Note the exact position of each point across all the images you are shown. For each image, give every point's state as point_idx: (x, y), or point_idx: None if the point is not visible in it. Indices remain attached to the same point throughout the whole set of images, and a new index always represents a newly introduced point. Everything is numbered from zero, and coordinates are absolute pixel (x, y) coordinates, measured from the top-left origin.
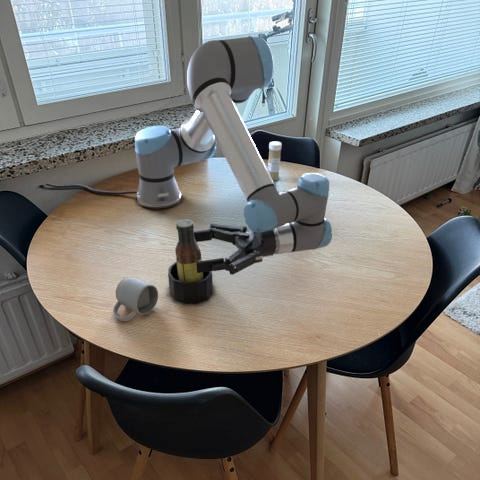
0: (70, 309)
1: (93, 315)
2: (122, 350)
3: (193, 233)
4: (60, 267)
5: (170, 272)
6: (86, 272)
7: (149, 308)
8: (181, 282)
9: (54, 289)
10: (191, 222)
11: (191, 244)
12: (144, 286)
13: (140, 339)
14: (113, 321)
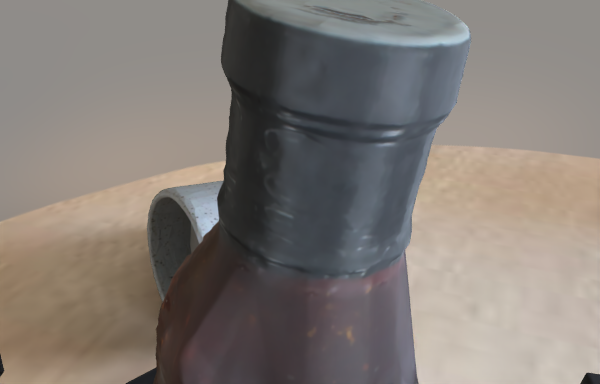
0: None
1: None
2: (32, 212)
3: (281, 191)
4: (550, 189)
5: None
6: (519, 228)
7: None
8: (145, 378)
9: (429, 164)
10: (335, 23)
11: (215, 254)
12: (185, 198)
13: (37, 260)
14: None
